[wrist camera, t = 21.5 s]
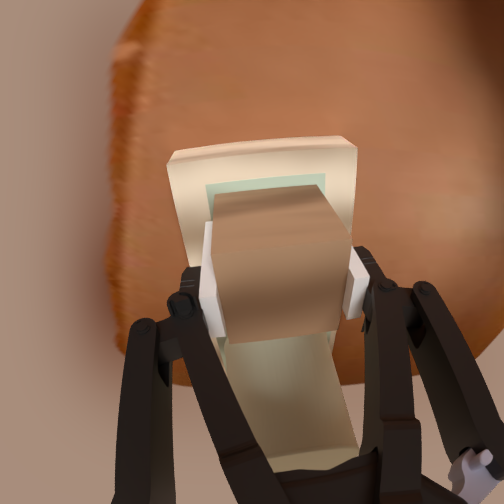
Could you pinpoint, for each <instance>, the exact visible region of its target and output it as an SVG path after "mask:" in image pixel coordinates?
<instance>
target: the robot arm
mask: <svg viewBox="0 0 504 504" xmlns="http://www.w3.org/2000/svg"><path fill="white" fill-rule="evenodd" d="M212 224H213V221H209V222H206V223H205V232H204V243H203V253H202V264H201V266H196V267H187V268H186V269H185V271H184V272H183V273H182V277H181V283H180V290H179V291H178V292H176V293H173V294H172V295H171V296H170V297H169V298H168V300H167V307H168V309H169V312H170V314H171V316H170V317H169V318H167V319H165V320H162V321H159V322H155V321H154V320H153V319H150V318H142V319H139V320H137V321H136V322H134V323H133V324H132V326H131V328H130V331H129V337H128V343H127V350H126V356H125V363H124V370H123V378H122V387H121V395H120V404H119V415H118V428H117V441H116V461H115V462H116V463H115V494H114V497H113V499H112V502H111V504H176V492H175V478H174V459H173V431H172V362H173V361H174V360H177V359H179V358H182V357H183V358H184V361H185V364H186V368H187V371H188V374H189V377H190V380H191V383H192V386H193V389H194V392H195V395H196V397H197V401H198V403H199V406H200V409H201V412H202V415H203V417H204V420H205V423H206V425H207V428H208V431H209V433H210V436H211V438H212V441H213V443H214V446H215V448H216V451H217V453H218V456H219V461H220V464H221V466H222V469H223V471H224V474H225V476H226V478H227V481H228V483H229V485H230V487H231V490H232V492H233V494H234V496H235V498H236V500H237V503H238V504H479V503H481V502H482V501H483V500H484V498H485V497H486V496H487V495H488V494H489V493H490V492H491V491H492V490H493V489H494V488H495V486H497V484H498V483H499V482H500V481H502V480H504V423H503V422H502V420H501V419H500V417H499V414H498V412H497V409H496V407H495V404H494V402H493V399H492V397H491V394H490V392H489V390H488V387H487V385H486V383H485V380H484V378H483V376H482V374H481V372H480V369H479V367H478V365H477V363H476V361H475V359H474V357H473V355H472V353H471V351H470V349H469V347H468V345H467V343H466V341H465V339H464V337H463V335H462V333H461V331H460V330H459V328H458V326H457V324H456V322H455V320H454V319H453V317H452V315H451V313H450V312H449V310H448V308H447V306H446V305H445V303H444V301H443V300H442V298H441V296H440V295H439V293H438V291H437V290H436V288H435V287H434V286H433V285H432V284H430V283H429V282H426V281H419V282H416V283H415V284H414V286H413V288H402V287H398V285H397V284H396V283H395V282H394V281H393V280H390V279H387V278H386V277H385V275H384V274H383V272H382V270H381V269H380V267H379V266H378V264H377V263H376V261H375V259H374V258H373V256H372V255H371V253H370V251H369V250H367V249H366V248H364V247H363V246H359V247H352V248H351V255H350V263H349V269H348V276H347V282H346V289H345V294H344V300H343V306H342V309H343V311H344V314H345V316H346V319H347V320H348V319H354V318H359V317H361V314H362V309H363V311H364V314H365V319H364V323H363V327H362V331H361V332H363V331H364V340H365V397H364V398H365V400H364V422H363V423H364V424H363V439H362V444H361V447H360V451H359V456H358V457H354V458H351V459H349V460H347V461H345V462H343V463H341V464H339V465H337V466H335V467H333V468H331V469H329V470H306V469H297V470H290V471H283V472H275V473H274V472H273V470H272V468H271V466H270V464H269V462H268V460H267V458H266V456H265V455H264V453H263V451H262V449H261V447H260V446H259V444H258V443H257V441H256V439H255V437H254V435H253V433H252V431H251V428H250V426H249V424H248V422H247V420H246V418H245V416H244V414H243V412H242V409H241V407H240V405H239V403H238V401H237V398H236V396H235V394H234V392H233V390H232V387H231V385H230V383H229V380H228V378H227V376H226V374H225V371H224V369H223V367H222V364H221V362H220V359H219V357H218V355H217V352H216V350H215V347H214V345H213V343H212V340H211V338H215V337H226V330H225V320H224V316H223V311H222V307H221V302H220V298H219V293H218V288H217V284H216V279H215V274H214V269H213V264H212V259H211V239H212ZM408 345H409V348H410V350H411V353H412V355H413V358H414V360H415V363H416V365H417V368H418V370H419V373H420V376H421V378H422V381H423V384H424V387H425V389H426V392H427V395H428V398H429V401H430V404H431V407H432V410H433V413H434V416H435V419H436V422H437V425H438V429H439V432H440V435H441V439H442V442H443V445H444V448H445V451H446V454H447V455H448V458H449V460H450V462H451V463H452V466H451V469H450V472H449V474H448V479H449V480H450V481H452V485H453V486H452V491H449V490H447V489H446V488H444V487H442V486H441V485H439V484H437V483H435V482H434V481H432V480H431V479H429V478H428V477H426V476H424V475H422V474H421V462H422V447H421V446H422V445H421V444H422V442H421V424H420V421H419V420H418V419H416V418H415V414H414V398H413V385H412V374H411V364H410V356H409V348H408Z"/></svg>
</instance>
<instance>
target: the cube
mask: <svg viewBox="0 0 504 504" xmlns="http://www.w3.org/2000/svg"><path fill="white" fill-rule="evenodd" d="M352 240H353V239H352V237H351V235H350V234H349V232H348V231H347V229H346V228H345V226H344V224H343V223H342V221H341V220H340V218H339V217H338V215H337V214H336V212H335V211H334V209H333V208H332V206H331V205H330V203H329V202H328V200H327V199H326V197H325V196H324V194H323V193H322V192H321V190H320V189H319V187H318V186H317V184H315V185H301V186H289V187H277V188H267V189H257V190H247V191H238V192H229V193H220V194H215V197H214V210H213V224H212V239H211V259H212V264H213V269H214V274H215V279H216V284H217V288H218V293H219V298H220V302H221V307H222V311H223V316H224V320H225V326H226V331H227V335H228V339H229V344H238V343H248V342H257V341H266V340H274V339H282V338H289V337H296V336H303V335H310V334H316V333H323V332H329V331H335V330H338V327H339V322H340V317H341V311H342V306H343V300H344V294H345V289H346V282H347V276H348V269H349V263H350V255H351V248H352Z"/></svg>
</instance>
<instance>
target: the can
mask: <svg viewBox="0 0 504 504" xmlns="http://www.w3.org/2000/svg"><path fill="white" fill-rule="evenodd" d="M224 352H225V356H226V366H227V378H228V380H229V383H230V385H231V387H232V390H233V392H234V394H235V396H236V398H237V401H238V403H239V405H240V407H241V409H242V412H243V414H244V416H245V418H246V420H247V422H248V424H249V426H250V428H251V431H252V433H253V435H254V437H255V439H256V441H257V443H258V444H259V446H260V447H261V449H262V451H263V453H264V455H265V456H266V458H267V460H268V462H269V464H270V466H271V468H272V470H273V472H274V473H275V472H283V471H290V470H297V469H306V470H329V469H331V468H333V467H335V466H337V465H339V464H341V463H343V462H345V461H347V460H349V459H351V458H354V457H356V456H357V455H358V454H359V451H360V449H359V447H358V444H357V441H356V438H355V435H354V432H353V428H352V425H351V421H350V418H349V414H348V410H347V407H346V404H345V400H344V397H343V393H342V389H341V386H340V382H339V379H338V376H337V372H336V369H335V365H334V362H333V358H332V355H331V351H330V348H329V344H328V340H327V332H323V333H316V334H310V335H303V336H296V337H289V338H282V339H274V340H266V341H257V342H248V343H238V344H229V339H228V336H227V338H226V341H225V344H224Z"/></svg>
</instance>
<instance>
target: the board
mask: <svg viewBox="0 0 504 504" xmlns="http://www.w3.org/2000/svg"><path fill="white" fill-rule="evenodd" d="M357 149H358V148H357V147H356V146H354V145H353V144H352V143H350V142H349V141H347V140H346V139H344V138H343V137H342V136H312V137H292V138H278V139H265V140H254V141H244V142H235V143H227V144H219V145H211V146H204V147H197V148H190V149H184V150H178V151H175V152H174V153H173V155H172V157H171V158H170V160H169V162H168V164H167V171H168V175H169V180H170V185H171V189H172V194H173V199H174V203H175V207H176V212H177V216H178V220H179V224H180V229H181V233H182V237H183V241H184V245H185V249H186V253H187V257H188V261H189V264H190V267H196V266H201V264H202V253H203V243H204V232H205V223H206V222H209V221H213V210H214V197H215V194H220V193H229V192H238V191H247V190H257V189H267V188H277V187H289V186H301V185H315V184H317V186H318V187H319V189H320V190H321V192H322V193H323V194H324V196H325V197H326V199H327V200H328V202H329V203H330V205H331V206H332V208H333V209H334V211H335V212H336V214H337V215H338V217H339V218H340V220H341V221H342V223H343V224H344V226H345V228H346V229H347V231H348V232H349V234H350V235H351V229H352V219H353V209H354V197H355V184H356V169H357ZM225 330H226V326H225ZM335 335H336V330H335V331H329V332H327V340H328V344H329V348H330V351H331V355H332V350H333V345H334V340H335ZM227 336H228V335H227V331H226V337H215V338H211V340H212V343H213V345H214V347H215V350H216V352H217V355H218V357H219V359H220V362H221V364H222V367H223V369H224V371H225V374H226V376H227V366H226V356H225V352H224V344H225V341H226V338H227Z"/></svg>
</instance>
